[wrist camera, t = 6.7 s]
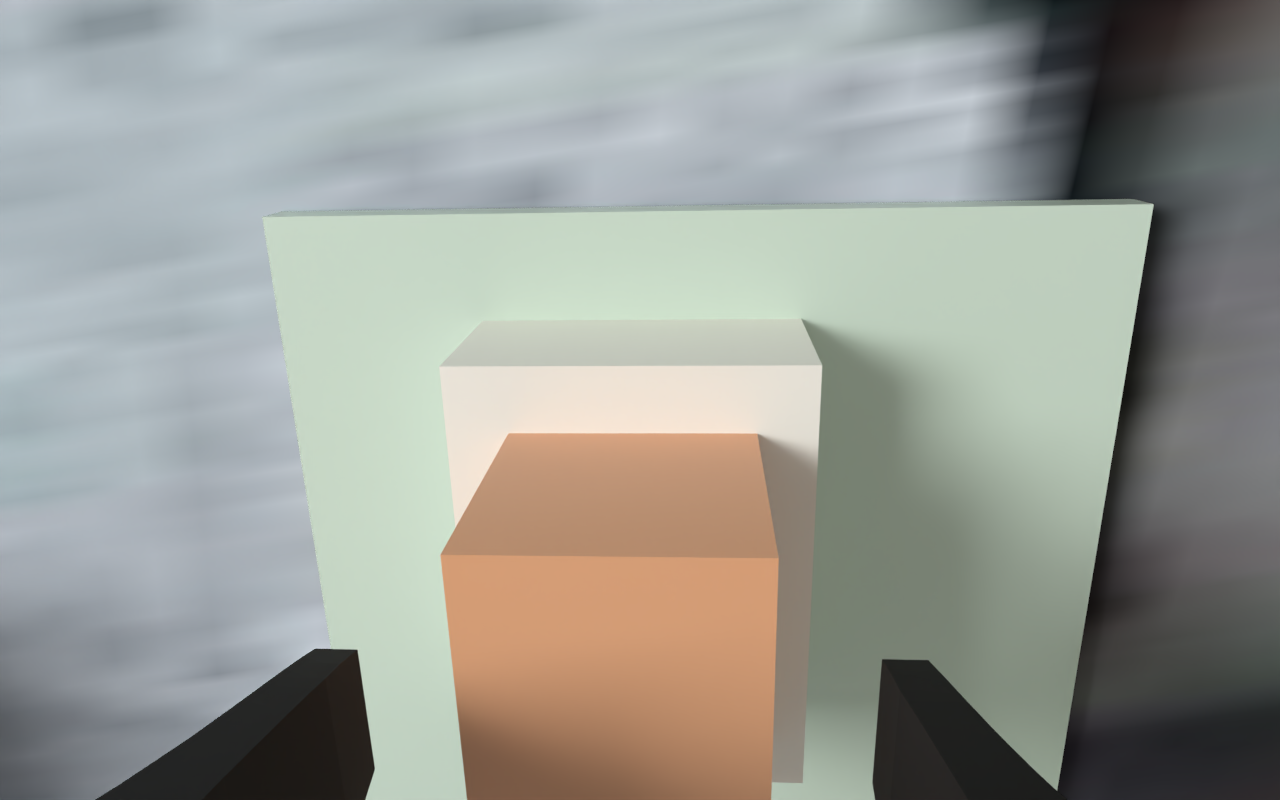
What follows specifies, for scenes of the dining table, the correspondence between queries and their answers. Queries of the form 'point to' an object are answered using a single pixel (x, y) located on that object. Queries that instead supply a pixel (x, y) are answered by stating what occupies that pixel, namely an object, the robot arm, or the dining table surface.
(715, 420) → the base brick
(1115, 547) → the dining table surface
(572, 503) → the top brick
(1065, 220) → the baseplate
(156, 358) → the dining table surface
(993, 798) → the robot arm
